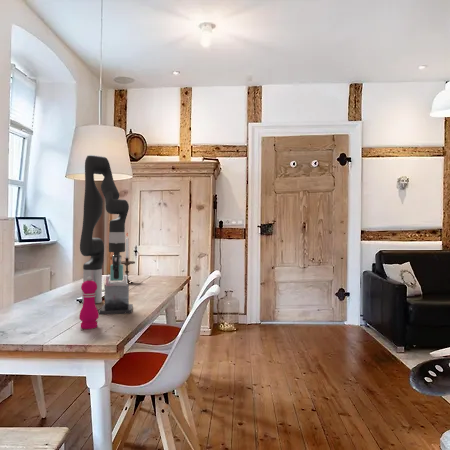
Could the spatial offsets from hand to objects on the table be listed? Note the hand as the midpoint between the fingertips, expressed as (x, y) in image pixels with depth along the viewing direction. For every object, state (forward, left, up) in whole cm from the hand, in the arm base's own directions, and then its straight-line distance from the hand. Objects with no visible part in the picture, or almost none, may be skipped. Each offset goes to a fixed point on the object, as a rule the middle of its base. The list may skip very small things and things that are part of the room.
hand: (116, 277), depth 195 cm
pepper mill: (-8, -30, -16) cm, 35 cm away
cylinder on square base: (0, 0, -15) cm, 15 cm away
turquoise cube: (0, 0, -1) cm, 1 cm away
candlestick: (-1, +91, -16) cm, 92 cm away
